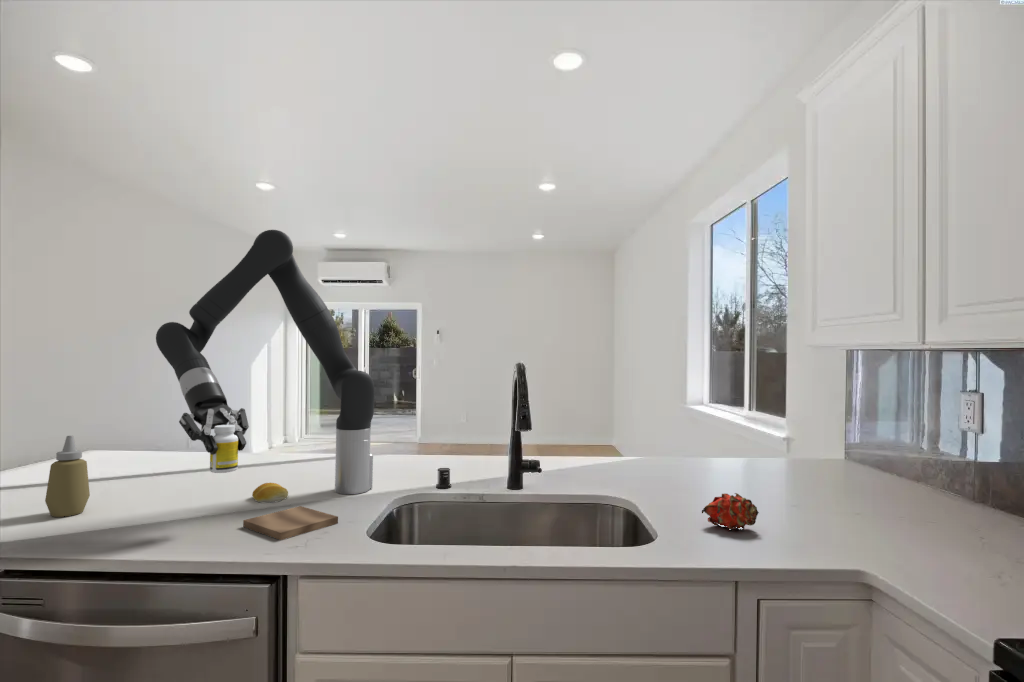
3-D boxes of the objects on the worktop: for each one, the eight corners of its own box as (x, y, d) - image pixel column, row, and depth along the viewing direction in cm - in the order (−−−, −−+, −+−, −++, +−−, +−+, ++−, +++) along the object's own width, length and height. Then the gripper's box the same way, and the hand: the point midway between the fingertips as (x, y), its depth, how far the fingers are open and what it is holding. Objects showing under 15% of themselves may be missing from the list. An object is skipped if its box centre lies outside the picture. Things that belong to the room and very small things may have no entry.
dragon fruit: (763, 540, 120) (706, 542, 124) (755, 508, 127) (701, 511, 131) (762, 514, 116) (702, 517, 119) (754, 483, 123) (698, 487, 126)
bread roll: (259, 505, 137) (259, 489, 137) (249, 498, 144) (249, 483, 144) (293, 500, 142) (293, 484, 143) (281, 493, 149) (281, 478, 149)
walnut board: (300, 512, 131) (300, 506, 131) (337, 523, 123) (338, 516, 123) (243, 527, 120) (243, 520, 120) (280, 540, 112) (280, 532, 112)
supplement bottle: (243, 469, 122) (244, 424, 122) (223, 474, 116) (224, 428, 117) (224, 467, 123) (225, 423, 124) (203, 472, 118) (204, 426, 118)
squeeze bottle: (96, 511, 129) (99, 435, 130) (56, 521, 122) (59, 439, 122) (77, 507, 133) (79, 432, 133) (36, 516, 125) (39, 436, 126)
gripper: (174, 382, 119) (200, 443, 112) (239, 379, 130) (267, 435, 123) (162, 405, 122) (187, 466, 115) (227, 400, 133) (253, 456, 126)
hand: (228, 449), depth 119 cm, fingers closed on supplement bottle, 5 cm apart
